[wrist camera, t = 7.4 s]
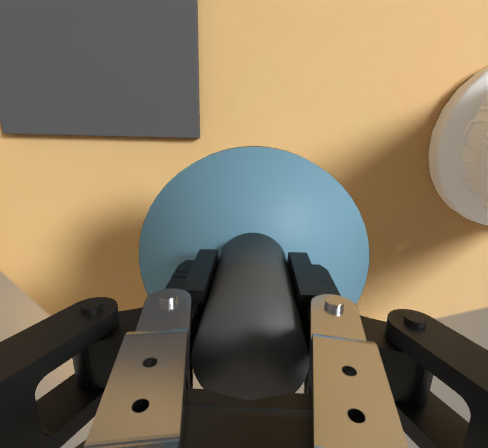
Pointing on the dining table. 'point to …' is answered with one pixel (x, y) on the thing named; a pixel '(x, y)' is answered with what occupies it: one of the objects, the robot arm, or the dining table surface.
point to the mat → (99, 67)
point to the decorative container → (463, 150)
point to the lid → (253, 259)
